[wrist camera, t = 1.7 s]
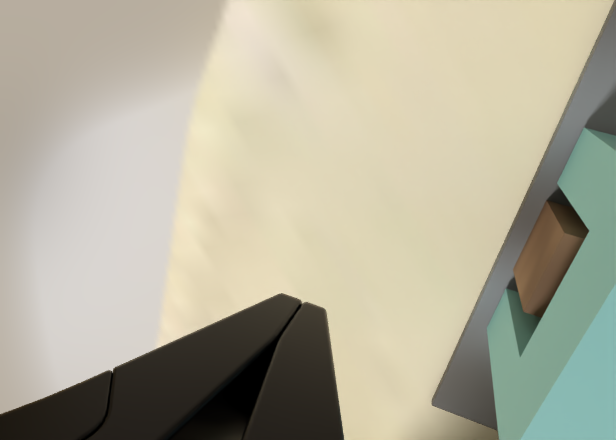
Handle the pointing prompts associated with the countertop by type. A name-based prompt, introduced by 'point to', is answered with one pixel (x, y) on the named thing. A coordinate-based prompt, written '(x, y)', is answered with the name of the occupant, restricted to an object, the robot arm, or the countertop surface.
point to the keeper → (566, 322)
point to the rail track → (534, 238)
